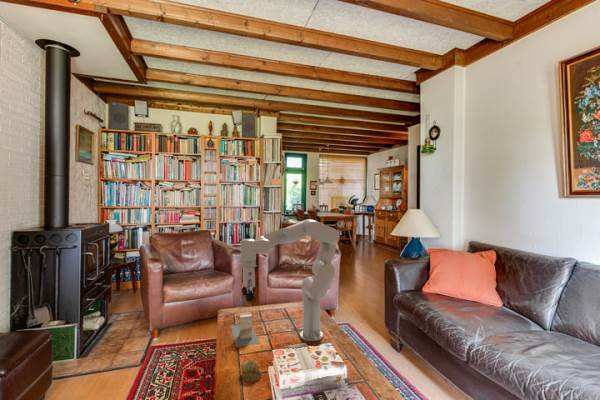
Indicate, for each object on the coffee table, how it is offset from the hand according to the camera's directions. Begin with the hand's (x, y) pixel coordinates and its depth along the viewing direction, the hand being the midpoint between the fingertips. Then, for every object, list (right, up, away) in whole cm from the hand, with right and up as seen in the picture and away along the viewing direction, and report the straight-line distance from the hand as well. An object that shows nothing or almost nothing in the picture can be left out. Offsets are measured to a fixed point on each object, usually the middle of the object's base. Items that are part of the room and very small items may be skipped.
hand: (248, 297), depth 146 cm
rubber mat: (-4, -24, +12) cm, 28 cm away
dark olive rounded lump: (+6, -25, -25) cm, 36 cm away
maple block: (-3, -24, +8) cm, 26 cm away
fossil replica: (+24, -25, -14) cm, 37 cm away
